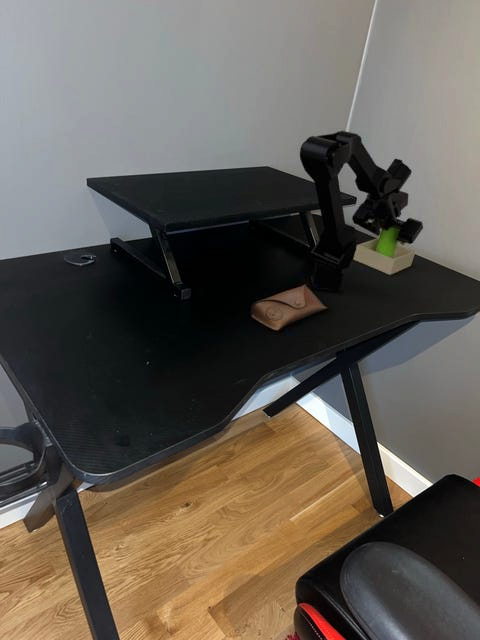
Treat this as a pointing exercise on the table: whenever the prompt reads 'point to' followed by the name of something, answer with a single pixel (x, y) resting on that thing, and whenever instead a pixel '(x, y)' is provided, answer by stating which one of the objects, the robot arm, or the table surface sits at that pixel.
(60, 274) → the table surface
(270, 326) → the sunglasses case
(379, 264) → the tote
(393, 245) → the drink can
